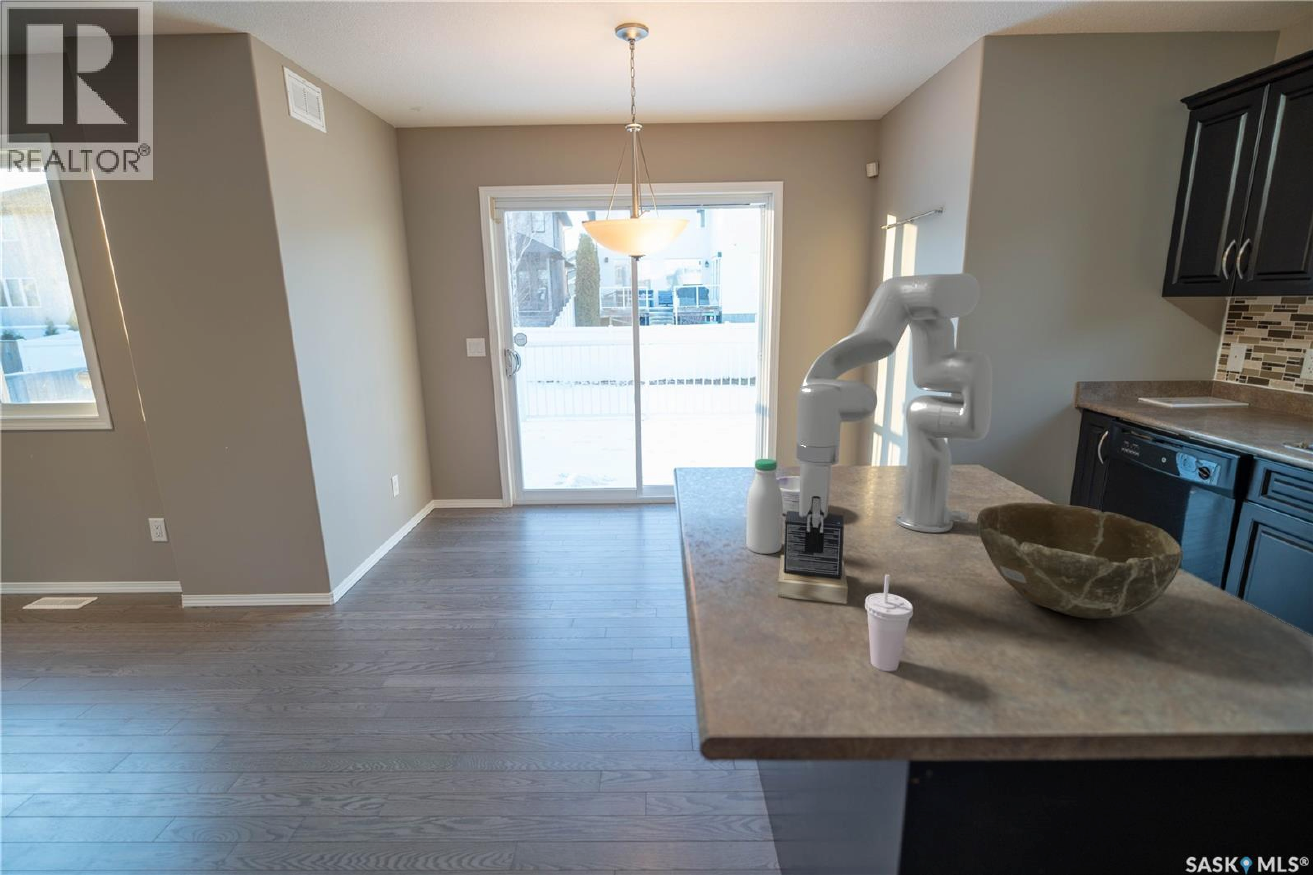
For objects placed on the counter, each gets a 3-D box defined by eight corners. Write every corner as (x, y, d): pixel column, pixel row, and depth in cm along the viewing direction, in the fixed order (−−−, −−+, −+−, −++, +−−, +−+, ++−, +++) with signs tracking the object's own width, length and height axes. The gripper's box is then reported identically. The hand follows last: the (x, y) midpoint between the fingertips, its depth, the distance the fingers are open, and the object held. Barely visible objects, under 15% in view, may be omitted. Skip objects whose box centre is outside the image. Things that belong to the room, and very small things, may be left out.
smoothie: (853, 652, 84) (859, 566, 81) (894, 649, 84) (901, 564, 82) (873, 678, 78) (880, 586, 75) (917, 675, 78) (925, 584, 75)
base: (842, 574, 109) (843, 559, 109) (846, 603, 98) (847, 587, 97) (780, 568, 112) (780, 554, 112) (777, 596, 101) (778, 580, 100)
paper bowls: (773, 500, 155) (773, 472, 154) (829, 505, 150) (831, 477, 148) (763, 517, 142) (763, 488, 140) (824, 524, 136) (826, 494, 134)
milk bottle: (781, 556, 118) (784, 465, 114) (745, 553, 120) (746, 464, 116) (781, 542, 126) (783, 456, 122) (746, 540, 127) (748, 455, 123)
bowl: (997, 639, 87) (1008, 549, 84) (955, 566, 112) (962, 496, 109) (1213, 665, 79) (1234, 568, 76) (1116, 581, 105) (1128, 506, 102)
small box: (841, 565, 106) (844, 513, 104) (842, 580, 100) (845, 525, 98) (785, 559, 109) (787, 508, 107) (782, 573, 103) (784, 520, 101)
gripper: (796, 442, 109) (793, 524, 113) (795, 463, 93) (791, 558, 96) (836, 443, 107) (831, 526, 111) (842, 465, 91) (837, 562, 94)
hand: (813, 541), depth 103 cm, fingers open, 9 cm apart
